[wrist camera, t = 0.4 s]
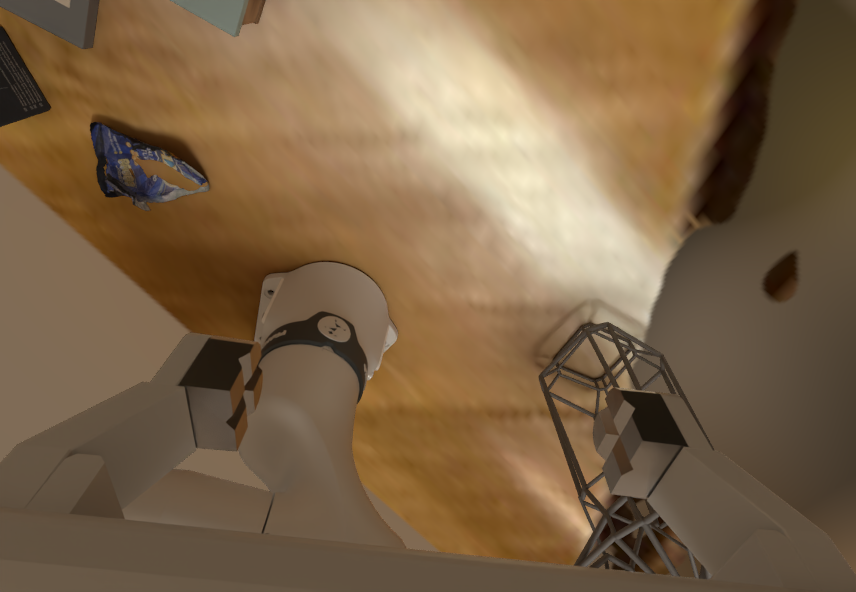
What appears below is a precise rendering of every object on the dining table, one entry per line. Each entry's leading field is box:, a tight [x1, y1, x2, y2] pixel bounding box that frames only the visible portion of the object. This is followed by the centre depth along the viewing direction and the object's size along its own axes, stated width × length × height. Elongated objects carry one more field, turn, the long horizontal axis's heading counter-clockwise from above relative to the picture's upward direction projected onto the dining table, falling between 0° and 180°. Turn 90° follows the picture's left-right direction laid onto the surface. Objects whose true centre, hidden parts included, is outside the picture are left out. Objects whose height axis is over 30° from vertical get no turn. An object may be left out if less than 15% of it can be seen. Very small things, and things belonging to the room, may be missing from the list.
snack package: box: [90, 122, 209, 211], centre depth 51 cm, size 12×6×12 cm
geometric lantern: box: [539, 322, 715, 580], centre depth 51 cm, size 16×16×35 cm
